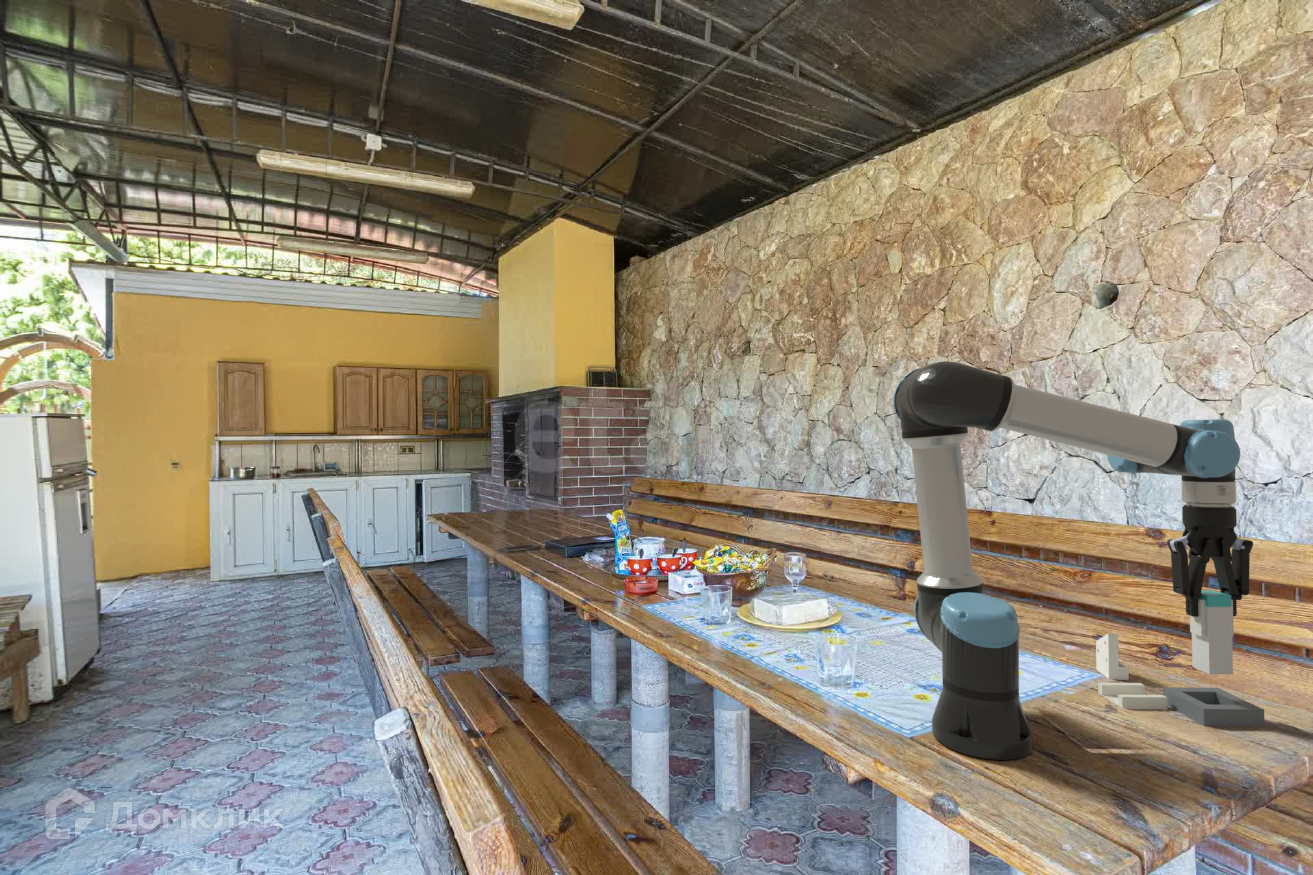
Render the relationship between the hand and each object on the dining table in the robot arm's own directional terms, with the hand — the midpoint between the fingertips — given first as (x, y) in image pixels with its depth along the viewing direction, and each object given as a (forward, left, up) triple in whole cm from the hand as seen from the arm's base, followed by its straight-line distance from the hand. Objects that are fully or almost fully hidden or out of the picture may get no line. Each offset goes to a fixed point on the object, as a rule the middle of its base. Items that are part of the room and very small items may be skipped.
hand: (1211, 633), depth 119 cm
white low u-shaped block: (-10, +6, -15) cm, 19 cm away
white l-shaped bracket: (-5, +20, -15) cm, 26 cm away
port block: (0, 0, -15) cm, 15 cm away
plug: (0, 0, -7) cm, 7 cm away
